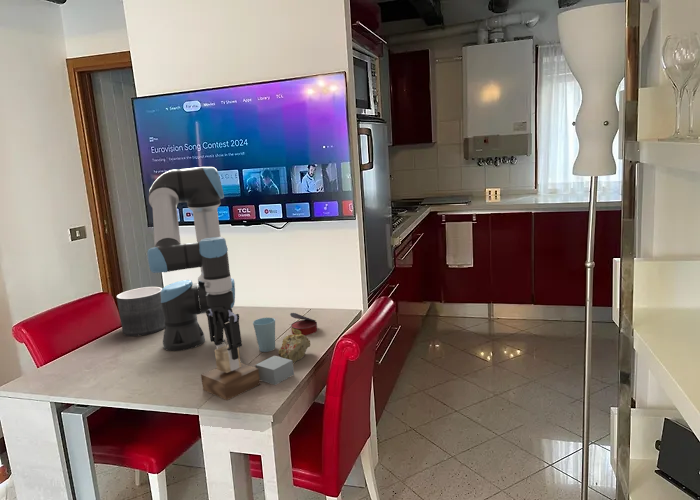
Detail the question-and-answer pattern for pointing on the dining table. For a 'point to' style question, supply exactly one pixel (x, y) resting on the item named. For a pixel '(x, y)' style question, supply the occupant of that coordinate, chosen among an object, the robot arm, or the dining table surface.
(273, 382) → the slate block
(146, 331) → the planter
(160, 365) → the dining table surface
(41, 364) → the dining table surface
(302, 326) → the canned food
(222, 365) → the oak block
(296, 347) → the rock
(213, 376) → the walnut pedestal
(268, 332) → the cup
